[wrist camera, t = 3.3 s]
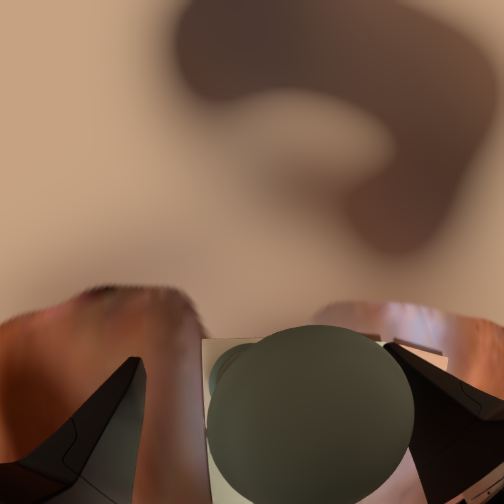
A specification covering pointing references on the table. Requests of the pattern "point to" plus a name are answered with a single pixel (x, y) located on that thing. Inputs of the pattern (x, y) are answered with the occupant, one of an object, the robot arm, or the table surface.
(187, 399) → the table surface
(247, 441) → the pawn
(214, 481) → the track
